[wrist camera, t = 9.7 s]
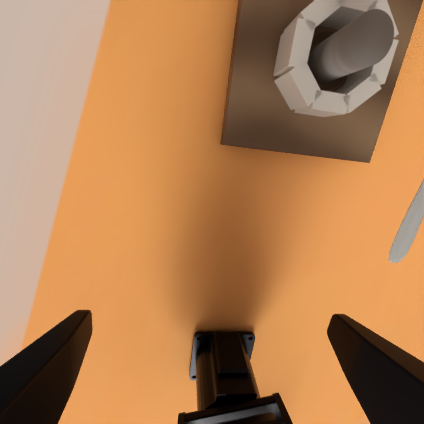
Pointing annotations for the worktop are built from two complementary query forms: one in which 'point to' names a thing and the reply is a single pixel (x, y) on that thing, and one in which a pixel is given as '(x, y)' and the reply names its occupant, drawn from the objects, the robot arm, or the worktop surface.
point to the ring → (299, 52)
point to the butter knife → (408, 227)
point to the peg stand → (323, 73)
